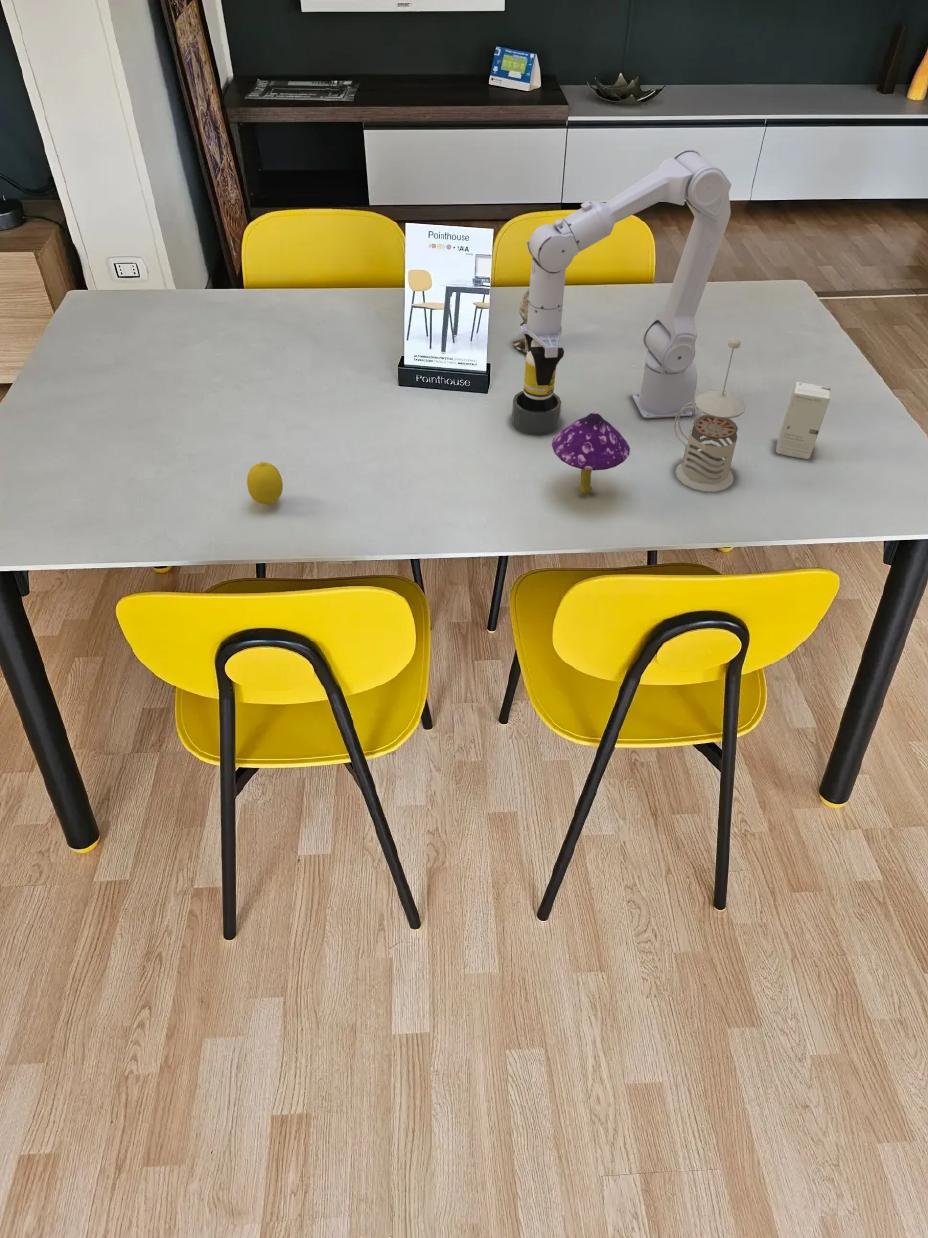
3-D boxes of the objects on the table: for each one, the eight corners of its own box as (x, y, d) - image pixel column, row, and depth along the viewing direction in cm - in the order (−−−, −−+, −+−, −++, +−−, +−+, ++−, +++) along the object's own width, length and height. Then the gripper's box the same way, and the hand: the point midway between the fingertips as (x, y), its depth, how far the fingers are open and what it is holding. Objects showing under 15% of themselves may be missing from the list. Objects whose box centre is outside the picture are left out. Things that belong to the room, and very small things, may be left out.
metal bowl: (553, 409, 177) (555, 387, 174) (563, 434, 170) (565, 412, 167) (508, 411, 176) (509, 390, 173) (516, 436, 169) (517, 414, 166)
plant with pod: (545, 332, 199) (553, 237, 185) (558, 358, 191) (568, 260, 177) (508, 335, 198) (512, 239, 184) (519, 361, 190) (525, 263, 176)
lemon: (252, 495, 155) (245, 453, 150) (286, 493, 156) (280, 452, 150) (249, 515, 151) (242, 473, 146) (284, 514, 152) (278, 472, 146)
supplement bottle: (551, 402, 167) (556, 351, 160) (521, 399, 167) (524, 347, 161) (555, 387, 171) (560, 336, 164) (525, 384, 171) (529, 333, 165)
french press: (721, 498, 157) (755, 360, 140) (656, 476, 161) (682, 339, 144) (741, 470, 163) (776, 334, 146) (678, 449, 167) (705, 315, 150)
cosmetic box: (775, 454, 167) (792, 392, 158) (776, 441, 170) (794, 380, 162) (811, 460, 165) (830, 399, 157) (812, 447, 169) (831, 386, 160)
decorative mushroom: (634, 508, 154) (648, 428, 144) (563, 520, 152) (572, 440, 141) (605, 466, 163) (616, 388, 153) (536, 477, 160) (543, 398, 150)
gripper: (514, 284, 162) (510, 357, 172) (530, 322, 152) (524, 398, 161) (555, 282, 163) (548, 355, 172) (573, 320, 153) (565, 395, 162)
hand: (539, 375), depth 167 cm, fingers closed on supplement bottle, 5 cm apart
